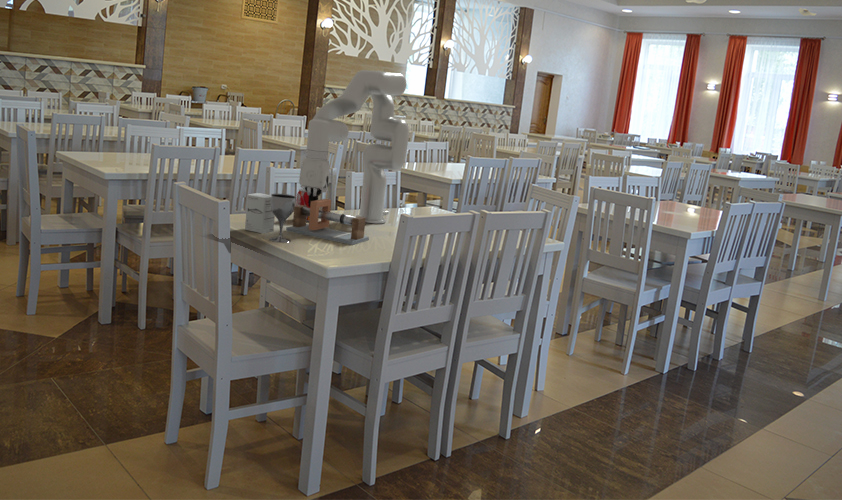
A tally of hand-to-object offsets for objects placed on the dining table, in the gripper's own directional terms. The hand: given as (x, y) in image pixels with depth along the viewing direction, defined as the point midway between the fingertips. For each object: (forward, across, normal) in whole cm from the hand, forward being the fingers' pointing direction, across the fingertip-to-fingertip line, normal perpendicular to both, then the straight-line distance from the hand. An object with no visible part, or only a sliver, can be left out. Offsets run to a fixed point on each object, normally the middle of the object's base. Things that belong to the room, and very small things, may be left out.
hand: (312, 206), depth 240 cm
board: (+9, +7, 0) cm, 12 cm away
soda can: (+10, -13, +16) cm, 23 cm away
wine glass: (+10, +1, -20) cm, 22 cm away
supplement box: (+10, -12, -14) cm, 21 cm away
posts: (+9, +7, 0) cm, 12 cm away
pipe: (+4, +7, 0) cm, 8 cm away
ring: (+7, +3, 0) cm, 8 cm away
